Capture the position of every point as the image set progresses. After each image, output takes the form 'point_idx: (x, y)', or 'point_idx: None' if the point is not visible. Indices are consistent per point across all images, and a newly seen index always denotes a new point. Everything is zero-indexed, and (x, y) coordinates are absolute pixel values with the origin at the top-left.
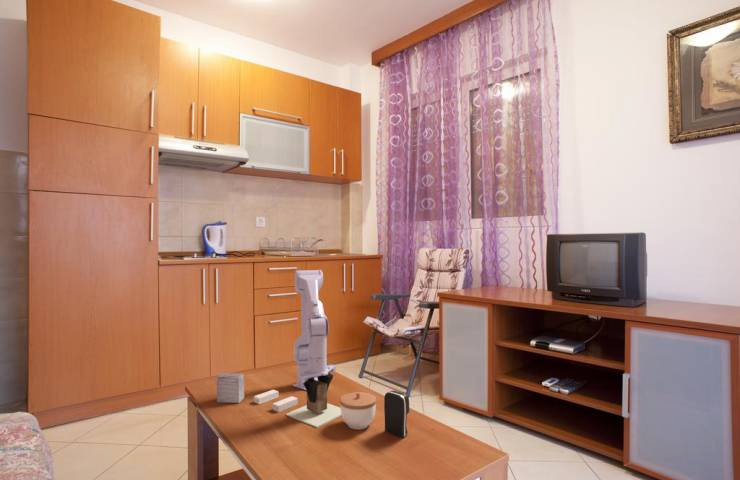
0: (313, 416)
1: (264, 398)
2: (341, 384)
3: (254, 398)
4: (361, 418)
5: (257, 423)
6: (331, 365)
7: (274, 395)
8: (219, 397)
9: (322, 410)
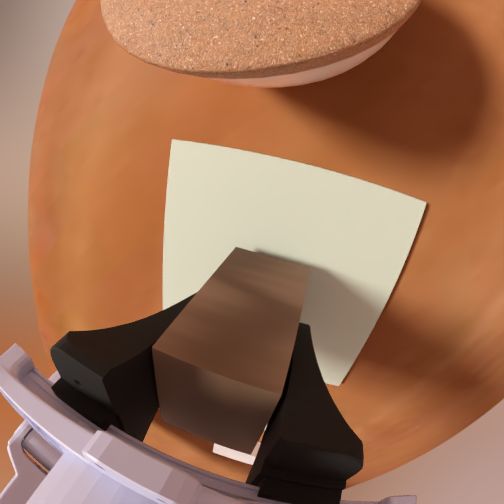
0: (323, 279)
1: None
2: (50, 299)
3: None
4: None
5: (418, 411)
6: (8, 401)
7: None
8: None
9: (272, 258)
